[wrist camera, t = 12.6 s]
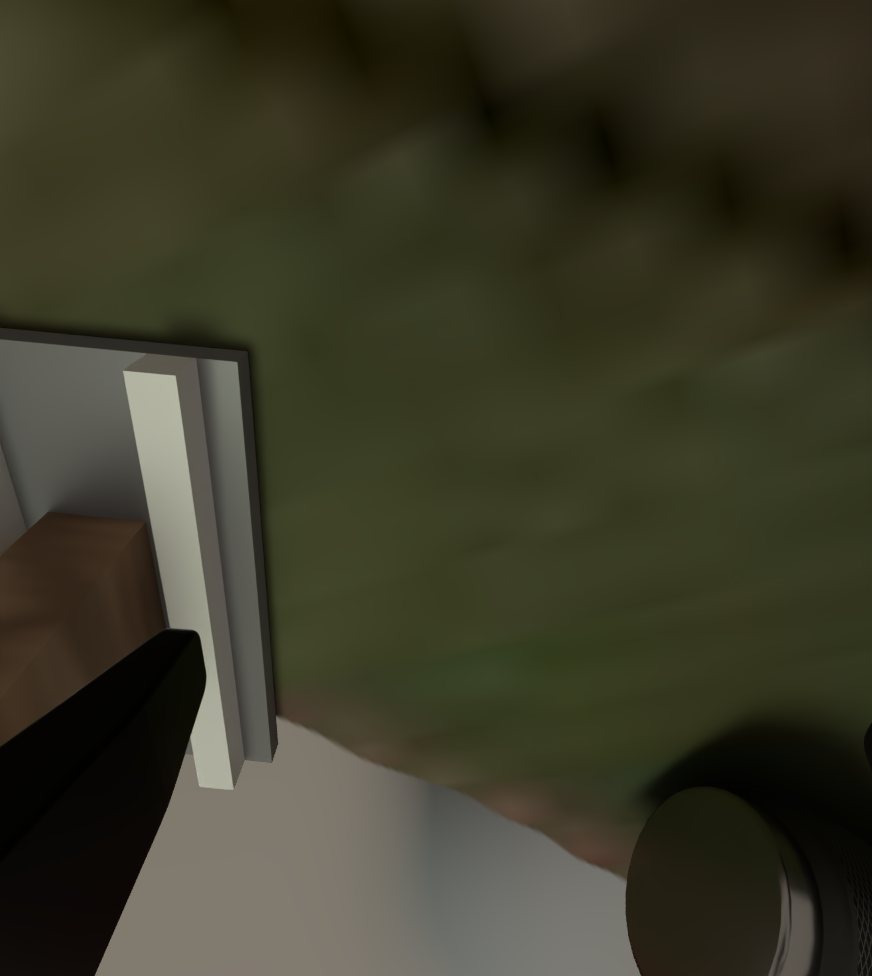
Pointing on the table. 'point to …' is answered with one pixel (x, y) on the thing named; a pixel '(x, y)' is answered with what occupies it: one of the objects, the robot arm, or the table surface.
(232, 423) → the track board
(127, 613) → the wooden block
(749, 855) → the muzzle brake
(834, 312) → the table surface
